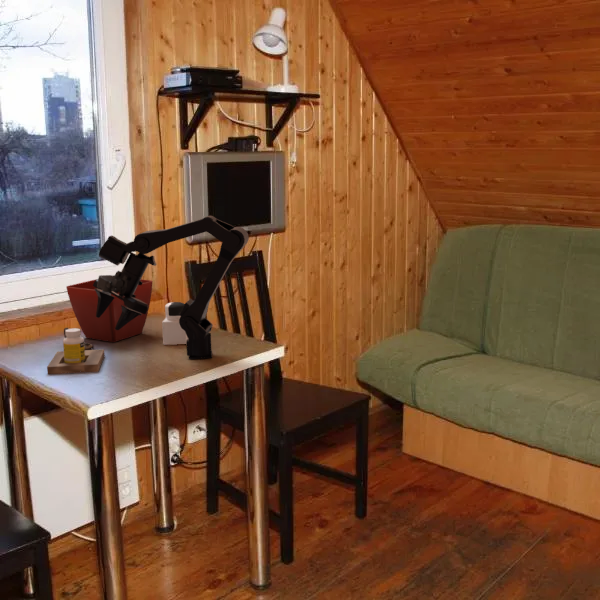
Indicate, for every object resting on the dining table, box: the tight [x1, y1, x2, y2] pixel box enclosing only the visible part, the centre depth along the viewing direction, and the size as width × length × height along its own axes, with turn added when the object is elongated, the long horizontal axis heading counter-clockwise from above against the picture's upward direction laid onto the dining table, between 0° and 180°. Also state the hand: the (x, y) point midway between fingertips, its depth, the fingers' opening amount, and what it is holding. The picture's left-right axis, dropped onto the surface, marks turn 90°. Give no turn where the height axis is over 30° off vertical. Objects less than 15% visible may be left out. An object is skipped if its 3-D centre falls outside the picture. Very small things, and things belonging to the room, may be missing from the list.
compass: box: [63, 327, 95, 350], centre depth 227 cm, size 8×8×7 cm
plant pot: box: [66, 278, 153, 343], centre depth 240 cm, size 19×19×17 cm
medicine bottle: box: [161, 301, 188, 346], centre depth 233 cm, size 7×7×12 cm
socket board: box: [46, 348, 106, 375], centre depth 212 cm, size 13×15×2 cm
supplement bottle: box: [62, 327, 85, 363], centre depth 209 cm, size 5×5×10 cm
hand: (106, 323), depth 215 cm, fingers open, 9 cm apart
